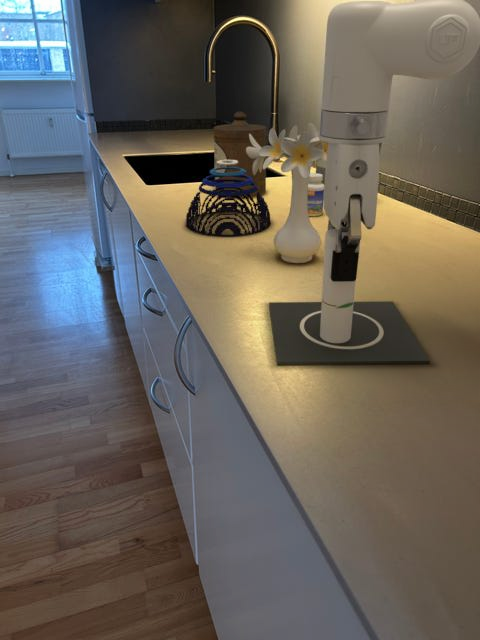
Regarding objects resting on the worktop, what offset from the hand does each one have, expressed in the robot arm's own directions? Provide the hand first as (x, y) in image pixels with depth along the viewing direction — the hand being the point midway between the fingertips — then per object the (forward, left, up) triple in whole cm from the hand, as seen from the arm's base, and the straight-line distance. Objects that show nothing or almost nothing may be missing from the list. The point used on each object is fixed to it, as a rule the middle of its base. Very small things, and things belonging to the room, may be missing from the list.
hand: (339, 271), depth 68 cm
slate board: (-2, -2, -10) cm, 11 cm away
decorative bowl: (+15, -56, -11) cm, 60 cm away
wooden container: (+12, -87, -11) cm, 89 cm away
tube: (0, 0, -10) cm, 10 cm away
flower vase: (+2, -32, -11) cm, 34 cm away
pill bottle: (-6, -64, -11) cm, 66 cm away
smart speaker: (-16, -97, -11) cm, 99 cm away
